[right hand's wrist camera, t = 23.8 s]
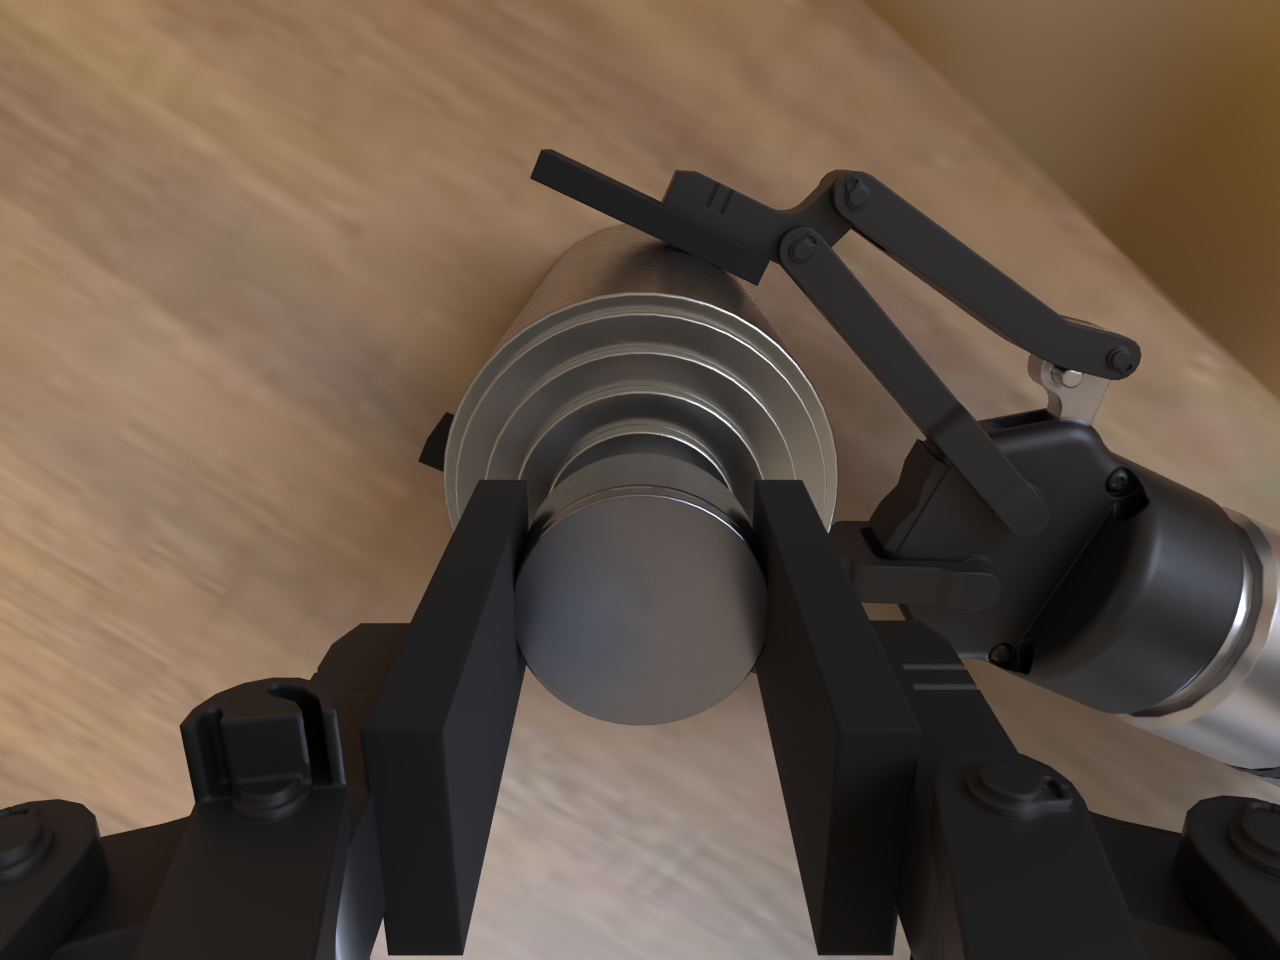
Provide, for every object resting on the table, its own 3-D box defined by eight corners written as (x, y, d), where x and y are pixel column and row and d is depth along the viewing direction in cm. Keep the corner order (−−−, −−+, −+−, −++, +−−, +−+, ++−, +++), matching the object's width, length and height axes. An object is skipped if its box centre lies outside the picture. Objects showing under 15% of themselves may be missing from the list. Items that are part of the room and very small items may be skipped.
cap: (489, 608, 15) (470, 668, 13) (583, 412, 14) (576, 450, 12) (691, 692, 15) (697, 761, 14) (798, 511, 14) (819, 561, 13)
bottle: (491, 364, 32) (296, 651, 14) (609, 176, 30) (561, 225, 12) (668, 477, 34) (702, 870, 15) (793, 305, 32) (1004, 527, 13)
